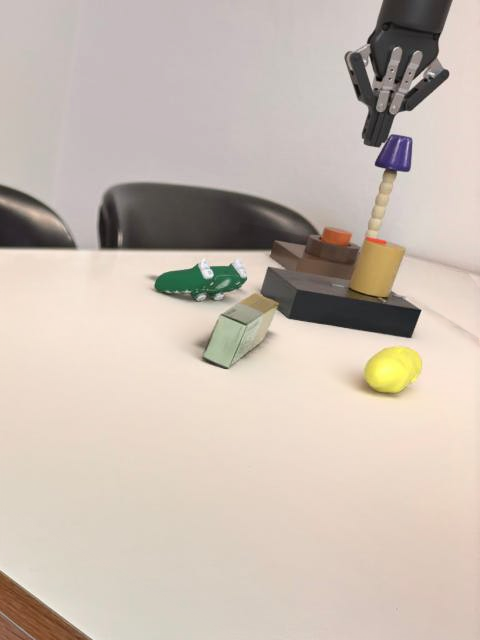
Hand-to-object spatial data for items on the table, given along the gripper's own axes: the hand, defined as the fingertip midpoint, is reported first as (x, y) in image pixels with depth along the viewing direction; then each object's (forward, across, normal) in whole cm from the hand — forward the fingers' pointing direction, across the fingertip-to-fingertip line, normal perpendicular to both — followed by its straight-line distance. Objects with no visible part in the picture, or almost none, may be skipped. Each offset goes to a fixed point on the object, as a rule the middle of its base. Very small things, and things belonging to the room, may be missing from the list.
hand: (371, 145), depth 131 cm
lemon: (+15, -14, -52) cm, 55 cm away
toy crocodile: (+15, -25, -27) cm, 40 cm away
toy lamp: (+16, +8, +10) cm, 20 cm away
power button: (+12, -1, -1) cm, 12 cm away
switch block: (+15, -1, -1) cm, 15 cm away
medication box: (+15, -26, -47) cm, 56 cm away
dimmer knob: (+12, -6, -25) cm, 28 cm away
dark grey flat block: (+15, -9, -25) cm, 30 cm away
